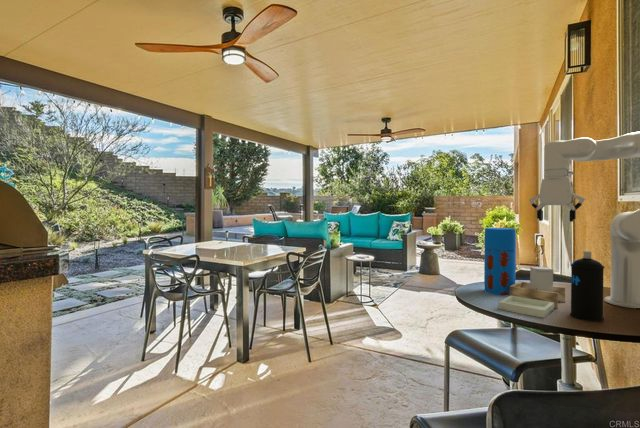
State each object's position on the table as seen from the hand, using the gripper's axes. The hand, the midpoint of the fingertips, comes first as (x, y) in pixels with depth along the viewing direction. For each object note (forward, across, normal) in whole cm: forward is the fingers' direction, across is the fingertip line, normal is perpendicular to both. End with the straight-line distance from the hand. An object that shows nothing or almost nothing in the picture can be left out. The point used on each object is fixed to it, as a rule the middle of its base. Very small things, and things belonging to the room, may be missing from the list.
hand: (555, 221), depth 128 cm
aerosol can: (+28, -12, +22) cm, 38 cm away
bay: (+28, +3, +12) cm, 31 cm away
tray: (+28, +3, +26) cm, 38 cm away
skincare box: (+28, +2, +12) cm, 31 cm away
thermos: (+28, +17, +8) cm, 34 cm away
